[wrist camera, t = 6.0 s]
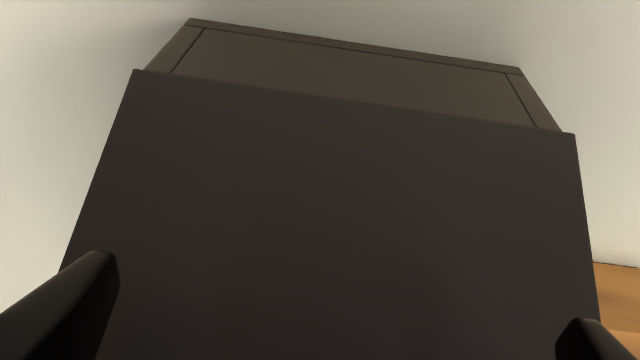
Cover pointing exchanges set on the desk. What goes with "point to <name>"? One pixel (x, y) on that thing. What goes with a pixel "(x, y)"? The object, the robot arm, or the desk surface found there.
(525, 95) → the dark grey box
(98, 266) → the robot arm
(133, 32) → the desk surface
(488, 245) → the lid
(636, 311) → the orange-brown cube
